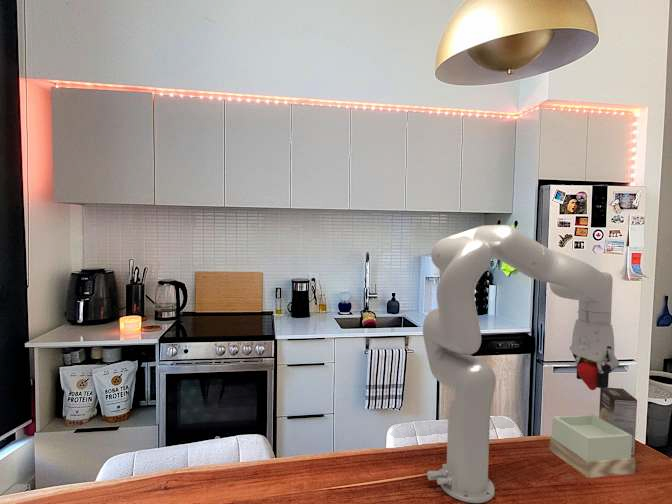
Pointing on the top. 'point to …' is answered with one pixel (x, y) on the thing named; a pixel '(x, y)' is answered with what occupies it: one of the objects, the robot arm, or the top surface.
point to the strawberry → (588, 373)
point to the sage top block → (591, 437)
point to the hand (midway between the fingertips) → (591, 382)
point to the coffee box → (619, 410)
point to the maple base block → (593, 463)
